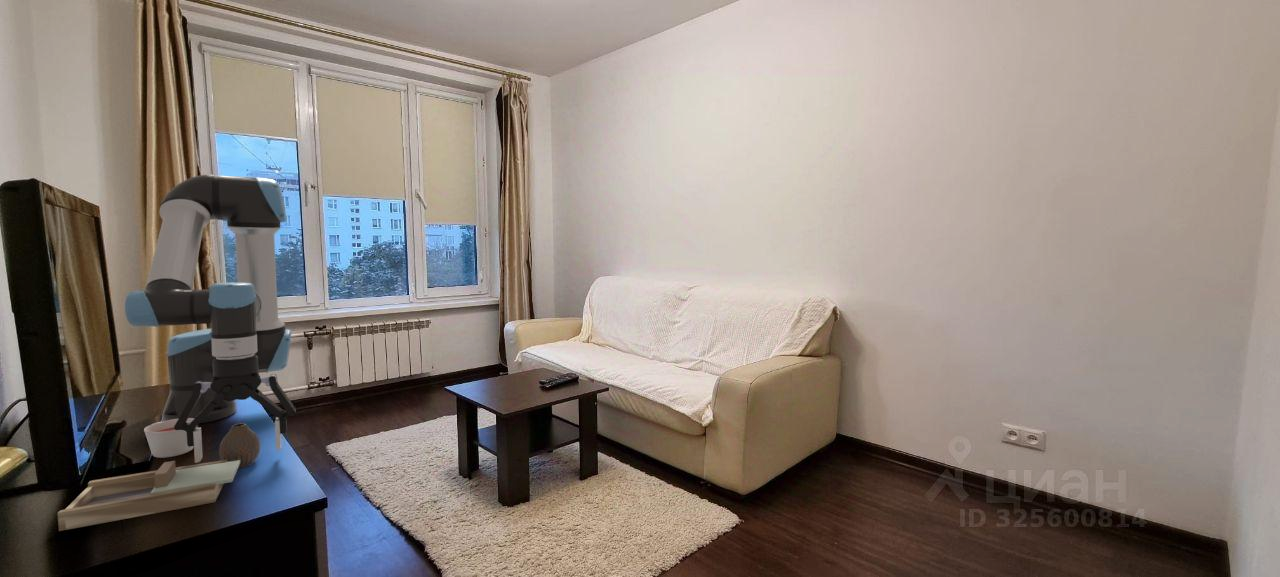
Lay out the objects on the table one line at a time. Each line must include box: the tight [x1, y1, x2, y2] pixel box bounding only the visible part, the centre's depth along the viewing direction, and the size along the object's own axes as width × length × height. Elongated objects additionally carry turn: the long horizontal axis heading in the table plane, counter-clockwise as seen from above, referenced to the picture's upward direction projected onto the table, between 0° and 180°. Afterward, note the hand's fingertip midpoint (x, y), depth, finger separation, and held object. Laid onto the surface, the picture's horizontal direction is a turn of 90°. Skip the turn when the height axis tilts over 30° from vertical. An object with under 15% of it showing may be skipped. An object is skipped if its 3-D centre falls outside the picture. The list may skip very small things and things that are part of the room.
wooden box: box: [57, 460, 227, 532], centre depth 95 cm, size 13×20×3 cm, turn 121°
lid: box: [151, 460, 240, 495], centre depth 98 cm, size 10×11×3 cm
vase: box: [218, 422, 261, 469], centre depth 110 cm, size 7×7×9 cm
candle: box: [143, 418, 199, 459], centre depth 115 cm, size 9×9×6 cm
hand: (240, 454), depth 110 cm, fingers open, 13 cm apart
